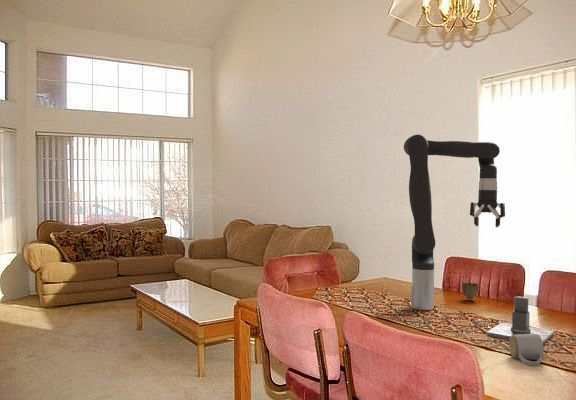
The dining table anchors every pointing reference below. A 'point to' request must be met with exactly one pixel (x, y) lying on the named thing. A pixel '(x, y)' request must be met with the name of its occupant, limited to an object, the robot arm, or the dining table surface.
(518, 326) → the knob
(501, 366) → the dining table surface
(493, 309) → the dining table surface
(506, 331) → the base plate
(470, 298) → the cup
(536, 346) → the ceramic mug
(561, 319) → the dining table surface
